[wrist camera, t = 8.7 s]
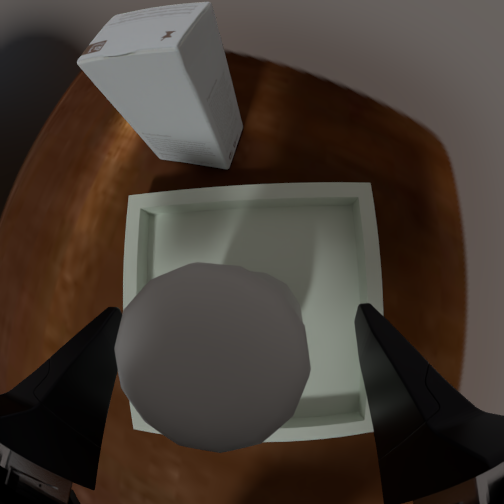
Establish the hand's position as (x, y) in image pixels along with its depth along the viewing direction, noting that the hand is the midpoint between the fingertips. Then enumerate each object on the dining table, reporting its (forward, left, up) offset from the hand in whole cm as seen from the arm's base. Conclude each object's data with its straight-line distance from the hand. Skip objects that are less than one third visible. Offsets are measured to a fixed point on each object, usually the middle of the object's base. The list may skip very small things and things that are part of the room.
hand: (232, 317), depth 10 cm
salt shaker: (-1, 0, -8) cm, 8 cm away
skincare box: (+12, -6, -9) cm, 16 cm away
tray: (0, 0, -9) cm, 9 cm away
